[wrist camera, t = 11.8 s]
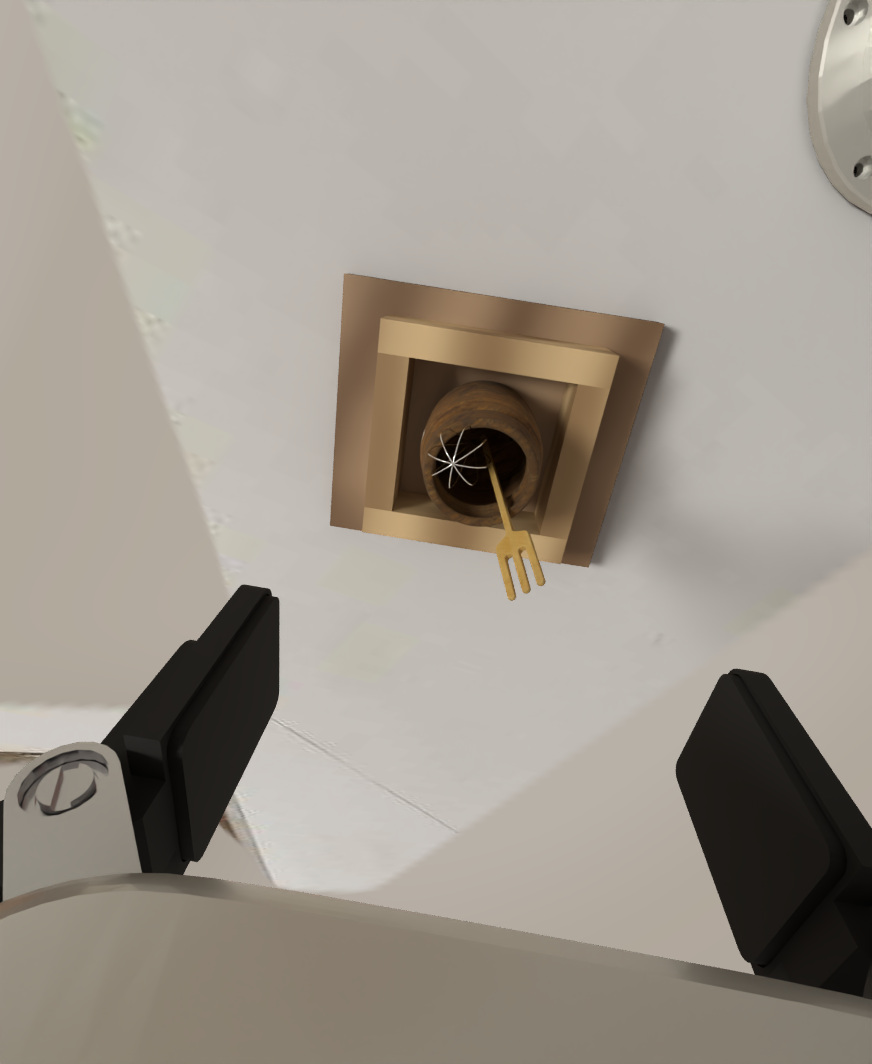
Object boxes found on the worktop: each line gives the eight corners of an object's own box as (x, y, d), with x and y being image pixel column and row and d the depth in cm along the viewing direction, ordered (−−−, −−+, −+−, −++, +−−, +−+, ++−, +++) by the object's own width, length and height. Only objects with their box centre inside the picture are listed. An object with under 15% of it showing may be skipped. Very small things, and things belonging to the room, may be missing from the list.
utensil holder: (499, 353, 27) (510, 404, 16) (558, 452, 29) (602, 556, 18) (406, 415, 29) (361, 498, 18) (467, 505, 31) (460, 627, 20)
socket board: (657, 322, 27) (685, 329, 23) (585, 558, 33) (598, 594, 29) (349, 273, 27) (328, 273, 23) (335, 517, 33) (316, 548, 30)
